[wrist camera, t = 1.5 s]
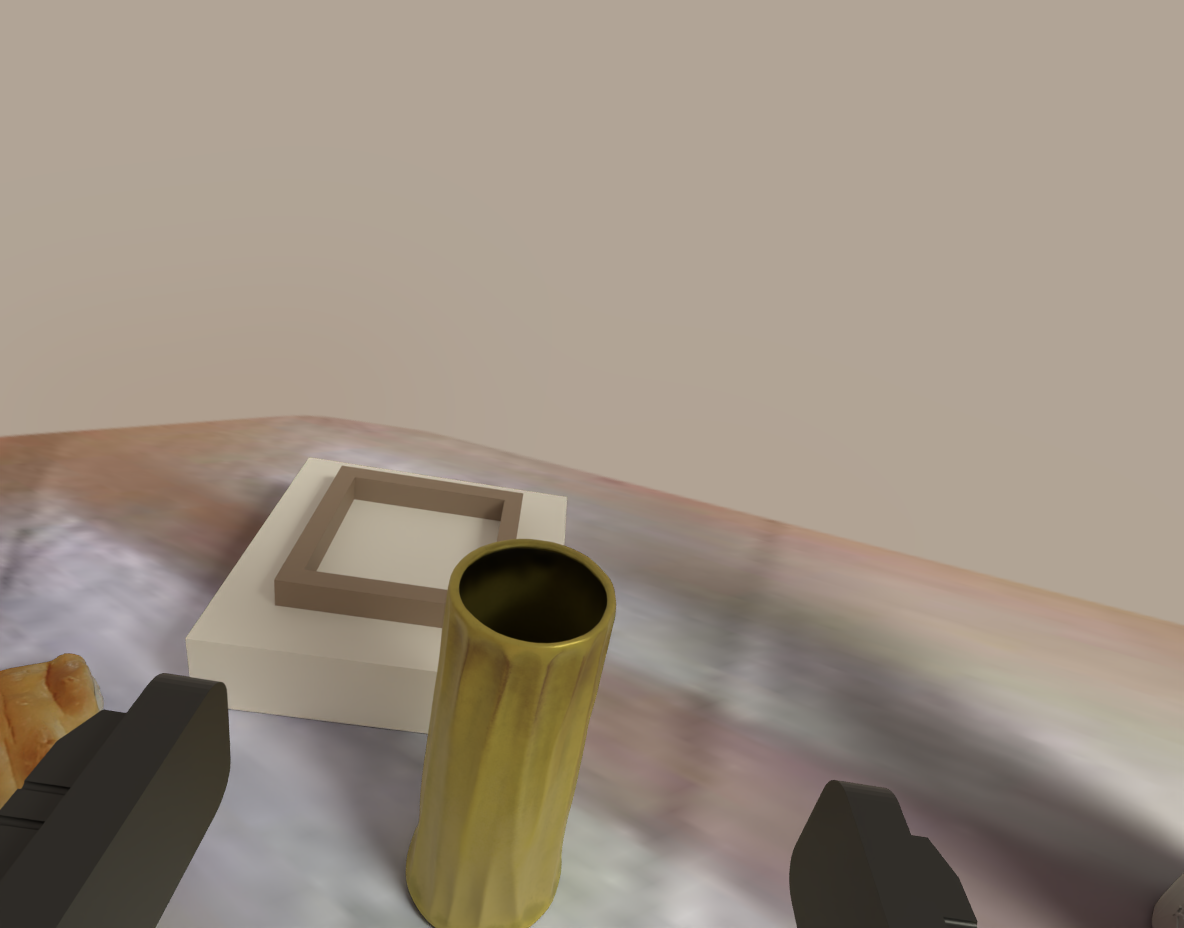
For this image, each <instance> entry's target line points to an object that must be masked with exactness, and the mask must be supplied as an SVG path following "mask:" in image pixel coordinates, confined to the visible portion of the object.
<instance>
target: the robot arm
mask: <svg viewBox="0 0 1184 928" xmlns="http://www.w3.org/2000/svg"><path fill="white" fill-rule="evenodd" d="M229 772H230V738H229V717H228V697H227V688H226V685H225V684H224V683H223V682H219V681H212V680H206V679H200V678H193V677H187V676H180V675H174V674H168V673H162V674H159V675H157V676H156V677H155V678H154V679H153V680H152V681H151V682H150V683H149V684H148V685H147V687H146V688H145V689H144V691H143V692H142V693H141V695H140V696H139V697H138V699H137V700H136V701H135V703H134V704H133V705H132V707H131V708H130V709H129V711H128V712H127V713H122V712H115V711H109V710H101V711H100V712H98V713H97V714H95V715H94V716H92V717H91V718H89V719H88V720H86V721H85V722H83V723H82V724H81V725H79V726H78V727H76V728H75V729H73V730H72V731H70V732H69V733H67V734H66V735H65V736H63V737H62V738H60V739H59V740H57V741H56V743H55V744H54V745H53V746H52V747H51V749H50V750H49V751H48V752H47V753H46V755H45V756H44V757H43V758H42V760H41V761H40V762H39V763H38V764H37V766H36V767H35V768H34V769H33V770H32V772H31V773H30V774H29V775H28V777H27V778H26V779H25V780H24V785H23V787H22V788H21V789H17V790H16V791H15V792H14V794H13V795H12V796H11V797H10V798H9V800H8V801H7V802H6V803H5V804H4V806H3V807H2V808H1V809H0V928H155V927H156V925H157V924H158V922H159V920H160V918H161V916H162V914H163V912H164V910H165V908H166V907H167V905H168V903H169V901H170V899H171V897H172V895H173V893H174V891H175V890H176V888H177V886H178V884H179V882H180V880H181V878H182V876H183V875H184V873H185V871H186V869H187V867H188V865H189V863H190V861H191V859H192V858H193V856H194V854H195V852H196V850H197V848H198V846H199V844H200V843H201V841H202V839H203V837H204V835H205V833H206V831H207V829H208V827H209V826H210V824H211V822H212V820H213V818H214V816H215V814H216V812H217V810H218V808H219V806H220V803H221V801H222V798H223V795H224V792H225V789H226V785H227V782H228V777H229ZM789 884H790V895H791V901H792V906H793V910H794V915H795V920H796V924H797V928H977V919H976V917H975V915H974V912H973V910H972V908H971V905H970V903H969V901H968V898H967V896H966V894H965V891H964V889H963V887H962V884H961V882H960V880H959V877H958V876H957V875H956V874H955V872H954V871H953V870H952V868H951V867H950V866H949V865H948V863H947V862H946V861H945V859H944V858H943V857H942V856H941V854H940V853H939V852H938V850H937V849H936V848H935V847H934V845H933V844H932V843H931V842H930V840H929V839H928V838H926V837H920V836H913V835H911V833H910V831H909V828H908V826H907V823H906V820H905V818H904V815H903V813H902V810H901V808H900V805H899V803H898V801H897V798H896V797H895V795H894V794H893V793H892V792H891V791H890V790H889V789H887V788H882V787H876V786H869V785H863V784H857V783H850V782H844V781H837V780H831V781H830V782H828V783H827V784H826V786H825V787H824V789H823V791H822V793H821V795H820V797H819V799H818V801H817V803H816V805H815V807H814V809H813V811H812V813H811V815H810V817H809V819H808V821H807V823H806V825H805V827H804V829H803V831H802V833H801V835H800V837H799V839H798V841H797V843H796V845H795V847H794V850H793V853H792V857H791V863H790V873H789ZM1152 928H1184V873H1183V874H1182V875H1181V876H1180V877H1179V878H1178V879H1177V880H1176V881H1175V882H1174V883H1173V884H1172V886H1171V887H1170V888H1169V889H1168V890H1167V891H1166V892H1165V893H1164V894H1163V895H1162V896H1161V898H1160V899H1159V901H1158V902H1157V903H1156V905H1155V907H1154V911H1153V916H1152Z"/></svg>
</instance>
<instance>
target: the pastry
mask: <svg viewBox="0 0 1184 928" xmlns="http://www.w3.org/2000/svg"><path fill="white" fill-rule="evenodd" d="M103 705H104V702H103V696H102V695H101V692H100V688H99V686H98V684H97V682H96V680H95V678H94V677H92V675H91V672H90V670H89V668H88V666H87V665H86V662H85V660H84V659H83V658H82V657H81V656H79V655H76V654H70V653H66V654H63V655H60V656H58V657H57V658H56V659H54V660H52V661H49V662H44V663H39V664H32V665H26V666H21V667H15V668H10V669H6V670H2V671H0V809H1V808H2V807H3V806H4V804H5V803H6V802H7V801H8V800H9V798H10V797H11V796H12V795H13V794H14V792H15V791H16V790H17V789H21V788H22V787H23V785H24V780H25V779H26V778H27V777H28V775H29V774H30V773H31V772H32V770H33V769H34V768H35V767H36V766H37V764H38V763H39V762H40V761H41V760H42V758H43V757H44V756H45V755H46V753H47V752H48V751H49V750H50V749H51V747H52V746H53V745H54V744H55V743H56V741H57V740H59V739H60V738H62V737H63V736H65V735H66V734H67V733H69V732H70V731H72V730H73V729H75V728H76V727H78V726H79V725H81V724H82V723H83V722H85V721H86V720H88V719H89V718H91V717H92V716H94V715H95V714H97V713H98V712H100V711H101V710H103Z"/></svg>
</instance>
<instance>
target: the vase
mask: <svg viewBox="0 0 1184 928" xmlns="http://www.w3.org/2000/svg"><path fill="white" fill-rule="evenodd" d="M615 613H616V598H615V591H614V587H613V584H612V582H611V580H610V579H609V577H608V576H607V575H606V574H605V573H604V572H603V570H602V569H601V568H600V567H599V566H598V565H597V564H596V563H595V562H594V561H592V560H591V559H590V558H589V557H587V556H586V555H584V554H582V553H580V552H578V551H576V550H574V549H571V548H569V547H567V546H564V545H561V544H558V543H554V542H549V541H543V540H535V539H510V540H504V541H499V542H494V543H491V544H488V545H484V546H481V547H479V548H477V549H476V550H474V551H472V552H470V553H469V554H467V555H466V556H465V557H464V558H463V559H462V560H461V561H460V562H459V563H458V564H457V565H456V567H455V568H454V570H453V572H452V574H451V577H450V580H449V585H448V590H447V596H446V602H445V609H444V616H443V624H442V634H441V645H440V654H439V662H438V669H437V676H436V682H435V688H434V695H433V702H432V710H431V717H430V723H429V730H428V737H427V745H426V752H425V759H424V766H423V774H422V783H421V793H420V815H419V823H418V826H417V828H416V829H415V832H414V835H413V837H412V840H411V843H410V846H409V850H408V854H407V860H406V882H407V886H408V889H409V892H410V895H411V897H412V899H413V901H414V903H415V905H416V906H417V908H418V910H419V911H420V913H421V914H422V915H423V916H424V917H425V919H426V920H427V921H428V922H429V923H430V924H431V925H433V926H434V927H435V928H529V927H530V926H531V925H533V924H534V923H535V922H536V921H537V920H538V919H539V918H540V917H541V916H542V915H543V914H544V913H545V912H546V910H547V909H548V908H549V906H550V904H551V903H552V901H553V898H554V896H555V893H556V890H557V887H558V883H559V879H560V874H561V853H562V844H563V838H564V833H565V828H566V823H567V819H568V815H569V811H570V807H571V804H572V800H573V796H574V792H575V788H576V783H577V779H578V774H579V769H580V764H581V759H582V755H583V750H584V745H585V740H586V735H587V729H588V724H589V720H590V716H591V713H592V709H593V706H594V703H595V699H596V695H597V691H598V686H599V682H600V678H601V674H602V670H603V665H604V661H605V657H606V653H607V649H608V645H609V640H610V636H611V631H612V627H613V623H614V619H615Z"/></svg>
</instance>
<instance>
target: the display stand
mask: <svg viewBox="0 0 1184 928" xmlns="http://www.w3.org/2000/svg"><path fill="white" fill-rule="evenodd" d="M566 507H567V497H563V496H557V495H550V494H544V493H537V492H531V491H524V490H518V489H511V488H505V487H498V486H492V485H485V484H479V483H472V482H466V481H459V480H453V479H446V478H440V477H433V476H427V475H420V474H414V473H407V472H401V471H394V470H388V469H381V468H375V467H368V466H362V465H355V464H349V463H342V462H336V461H329V460H323V459H316V458H310V457H309V458H308V460H307V461H306V463H305V464H304V466H303V467H302V469H301V470H300V472H299V473H298V475H297V476H296V477H295V479H294V480H293V482H292V483H291V485H290V486H289V488H288V489H287V491H286V492H285V494H284V495H283V496H282V498H281V499H280V501H279V502H278V504H277V505H276V507H275V508H274V510H273V511H272V513H271V514H270V515H269V517H268V518H267V520H266V521H265V523H264V524H263V526H262V527H261V529H260V530H259V532H258V533H257V534H256V536H255V537H254V539H253V540H252V542H251V543H250V545H249V546H248V548H247V549H246V551H245V552H244V553H243V555H242V556H241V558H240V559H239V561H238V562H237V564H236V565H235V567H234V568H233V570H232V571H231V572H230V574H229V575H228V577H227V578H226V580H225V581H224V583H223V584H222V586H221V587H220V589H219V590H218V591H217V593H216V594H215V596H214V597H213V599H212V600H211V602H210V603H209V605H208V606H207V608H206V609H205V610H204V612H203V613H202V615H201V616H200V618H199V619H198V621H197V622H196V624H195V625H194V627H193V628H192V629H191V631H190V632H189V634H188V635H187V637H186V638H185V641H186V649H187V658H188V667H189V676H190V677H193V678H200V679H206V680H212V681H219V682H223V683H224V684H225V685H226V688H227V697H228V709H233V710H241V711H249V712H257V713H265V714H273V715H281V716H289V717H297V718H305V719H313V720H321V721H329V722H337V723H345V724H353V725H361V726H369V727H377V728H386V729H394V730H402V731H410V732H418V733H426V734H428V730H429V723H430V717H431V710H432V702H433V695H434V688H435V682H436V676H437V669H438V662H439V654H440V645H441V634H442V624H443V616H444V609H445V602H446V596H447V590H448V585H449V580H450V577H451V574H452V572H453V570H454V568H455V567H456V565H457V564H458V563H459V562H460V561H461V560H462V559H463V558H464V557H465V556H466V555H467V554H469V553H470V552H472V551H474V550H476V549H477V548H479V547H481V546H484V545H488V544H491V543H494V542H499V541H504V540H510V539H535V540H543V541H549V542H554V543H558V544H561V545H564V542H565V525H566Z"/></svg>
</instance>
